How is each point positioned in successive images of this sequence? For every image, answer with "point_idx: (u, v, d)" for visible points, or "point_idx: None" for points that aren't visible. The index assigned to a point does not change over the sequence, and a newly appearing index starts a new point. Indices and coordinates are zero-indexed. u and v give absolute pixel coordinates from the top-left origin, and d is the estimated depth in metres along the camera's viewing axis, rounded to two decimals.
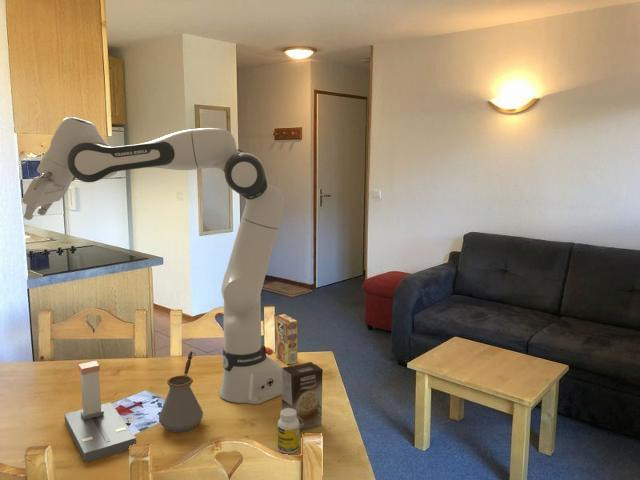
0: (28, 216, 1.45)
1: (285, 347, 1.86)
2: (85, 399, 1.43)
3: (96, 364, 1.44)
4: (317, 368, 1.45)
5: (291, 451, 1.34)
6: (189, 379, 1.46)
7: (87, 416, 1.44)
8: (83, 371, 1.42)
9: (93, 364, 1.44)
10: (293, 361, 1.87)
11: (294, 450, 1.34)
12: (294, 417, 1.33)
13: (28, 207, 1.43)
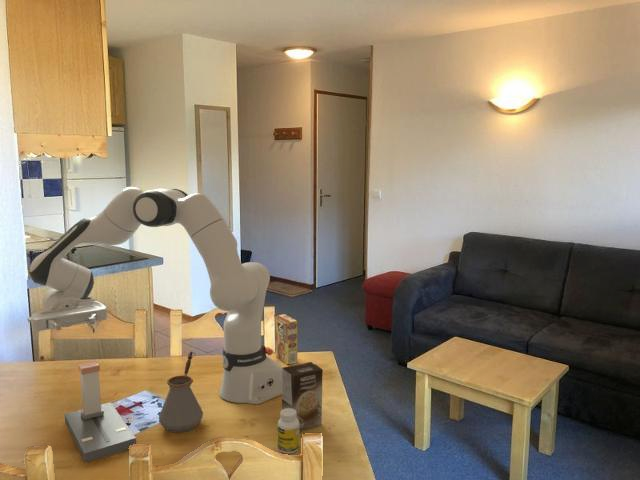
0: (54, 326, 1.51)
1: (285, 347, 1.86)
2: (85, 399, 1.43)
3: (96, 364, 1.44)
4: (317, 368, 1.45)
5: (291, 451, 1.34)
6: (189, 379, 1.46)
7: (87, 416, 1.44)
8: (83, 371, 1.42)
9: (93, 364, 1.44)
10: (293, 361, 1.87)
11: (294, 450, 1.34)
12: (294, 417, 1.33)
13: (49, 326, 1.52)
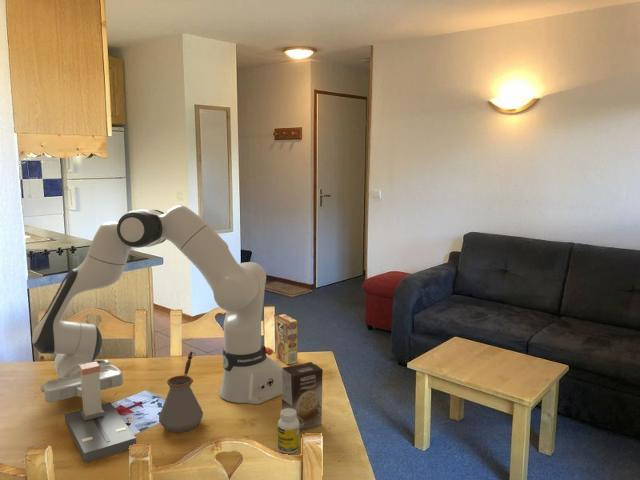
0: None
1: (285, 347, 1.86)
2: (85, 400, 1.43)
3: (96, 365, 1.44)
4: (317, 368, 1.45)
5: (291, 451, 1.34)
6: (189, 379, 1.46)
7: (87, 417, 1.43)
8: (83, 372, 1.41)
9: (93, 365, 1.44)
10: (293, 361, 1.87)
11: (294, 450, 1.34)
12: (294, 417, 1.33)
13: (78, 393, 1.48)
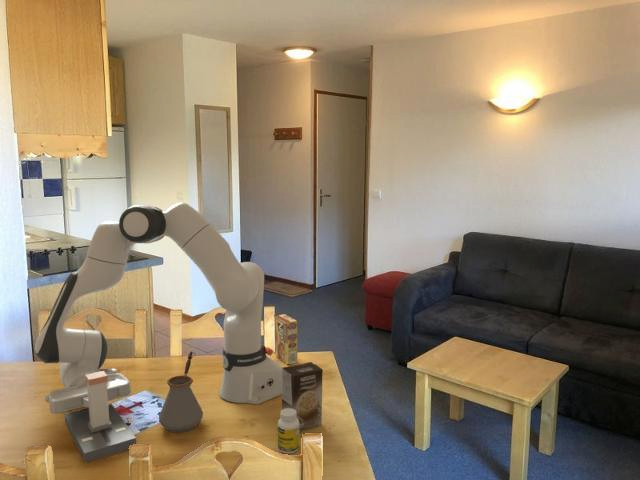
0: None
1: (285, 347, 1.86)
2: (92, 411, 1.37)
3: (104, 374, 1.38)
4: (317, 368, 1.45)
5: (291, 451, 1.34)
6: (189, 379, 1.46)
7: (95, 429, 1.37)
8: (90, 382, 1.35)
9: (101, 374, 1.38)
10: (293, 361, 1.87)
11: (294, 450, 1.34)
12: (294, 417, 1.33)
13: (84, 404, 1.42)
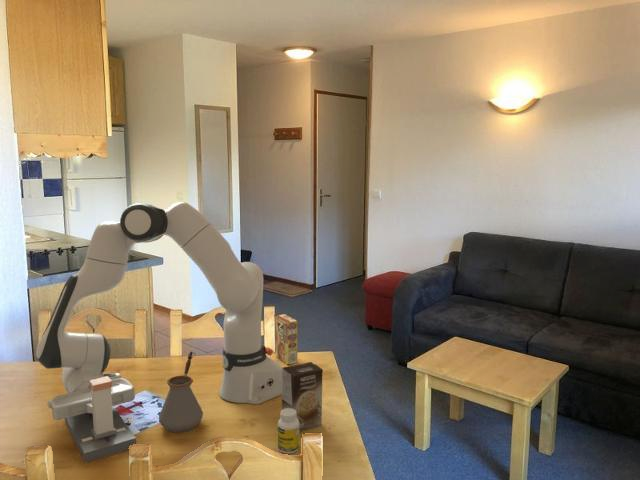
0: None
1: (285, 347, 1.86)
2: (96, 417, 1.34)
3: (108, 380, 1.35)
4: (317, 368, 1.45)
5: (291, 451, 1.34)
6: (189, 379, 1.46)
7: (99, 436, 1.34)
8: (94, 388, 1.32)
9: (105, 380, 1.35)
10: (293, 361, 1.87)
11: (294, 450, 1.34)
12: (294, 417, 1.33)
13: (87, 410, 1.39)
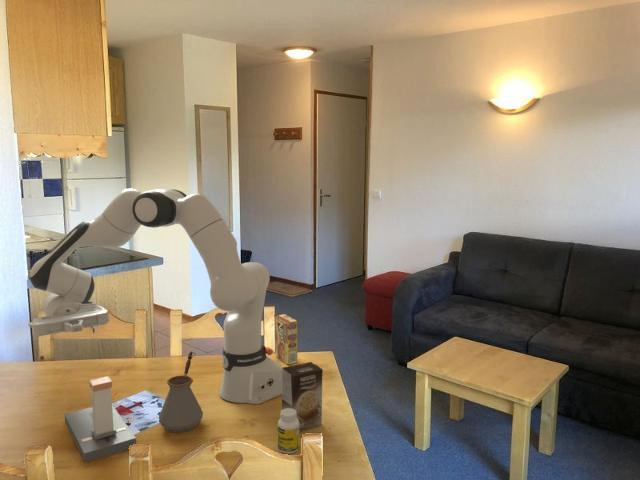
0: (70, 328, 1.52)
1: (285, 347, 1.86)
2: (96, 418, 1.34)
3: (108, 380, 1.35)
4: (317, 368, 1.45)
5: (291, 451, 1.34)
6: (189, 379, 1.46)
7: (99, 436, 1.34)
8: (94, 388, 1.32)
9: (105, 380, 1.35)
10: (293, 361, 1.87)
11: (294, 450, 1.34)
12: (294, 417, 1.33)
13: (65, 328, 1.54)
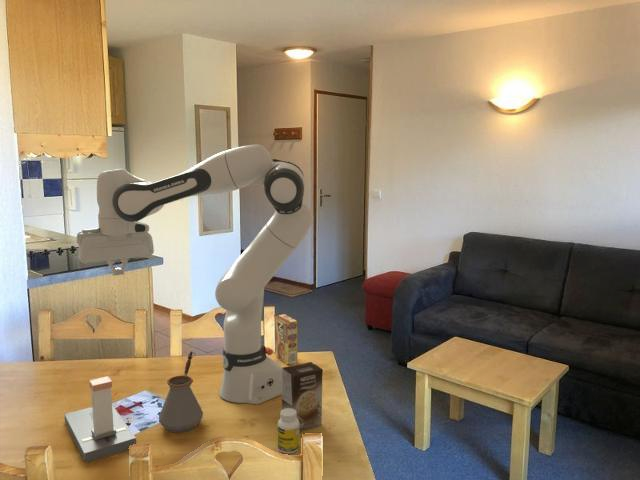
0: (113, 272, 1.56)
1: (285, 347, 1.86)
2: (96, 418, 1.34)
3: (108, 380, 1.35)
4: (317, 368, 1.45)
5: (291, 451, 1.34)
6: (189, 379, 1.46)
7: (99, 436, 1.34)
8: (94, 388, 1.32)
9: (105, 380, 1.35)
10: (293, 361, 1.87)
11: (294, 450, 1.34)
12: (294, 417, 1.33)
13: (108, 263, 1.55)
